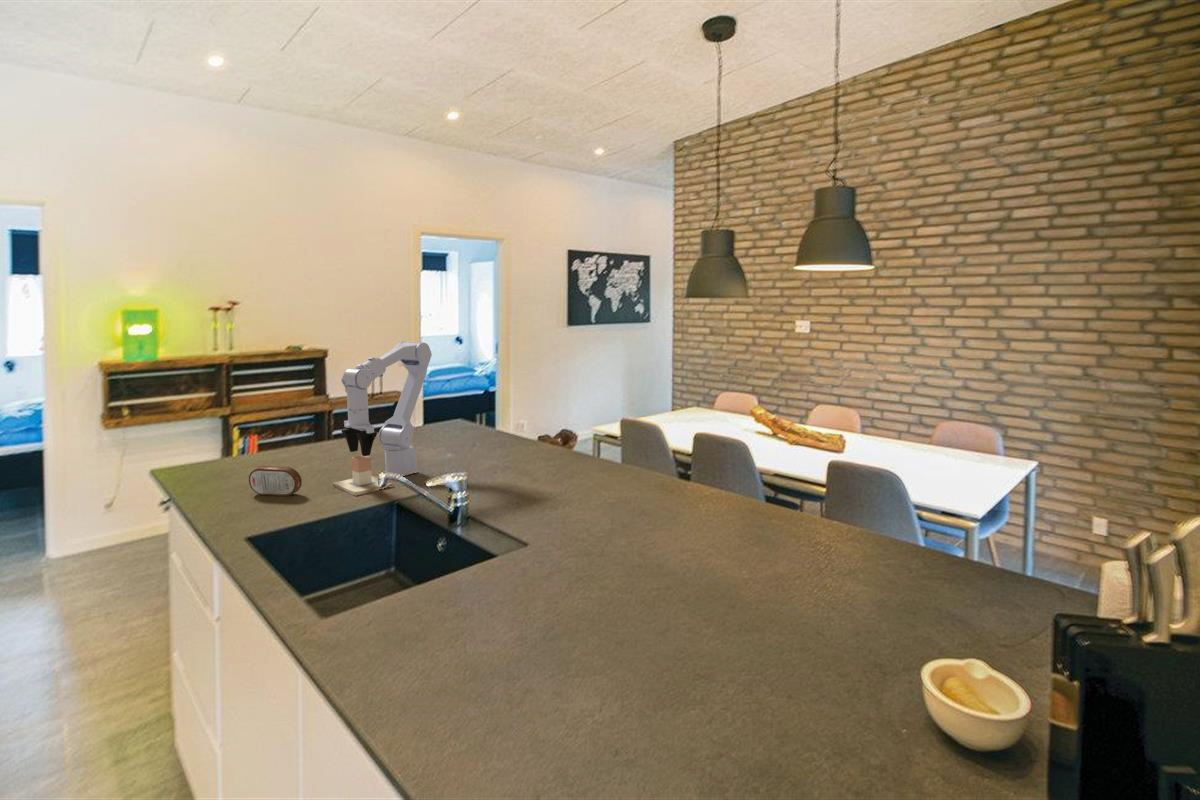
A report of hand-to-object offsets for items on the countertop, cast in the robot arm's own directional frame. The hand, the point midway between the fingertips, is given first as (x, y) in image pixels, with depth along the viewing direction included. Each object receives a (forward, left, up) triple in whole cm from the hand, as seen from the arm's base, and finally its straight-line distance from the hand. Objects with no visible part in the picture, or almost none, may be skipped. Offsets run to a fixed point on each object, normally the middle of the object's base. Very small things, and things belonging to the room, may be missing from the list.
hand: (359, 453), depth 186 cm
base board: (0, 0, -10) cm, 10 cm away
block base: (0, 0, -9) cm, 9 cm away
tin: (+21, -11, -11) cm, 26 cm away
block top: (0, 0, -5) cm, 5 cm away
